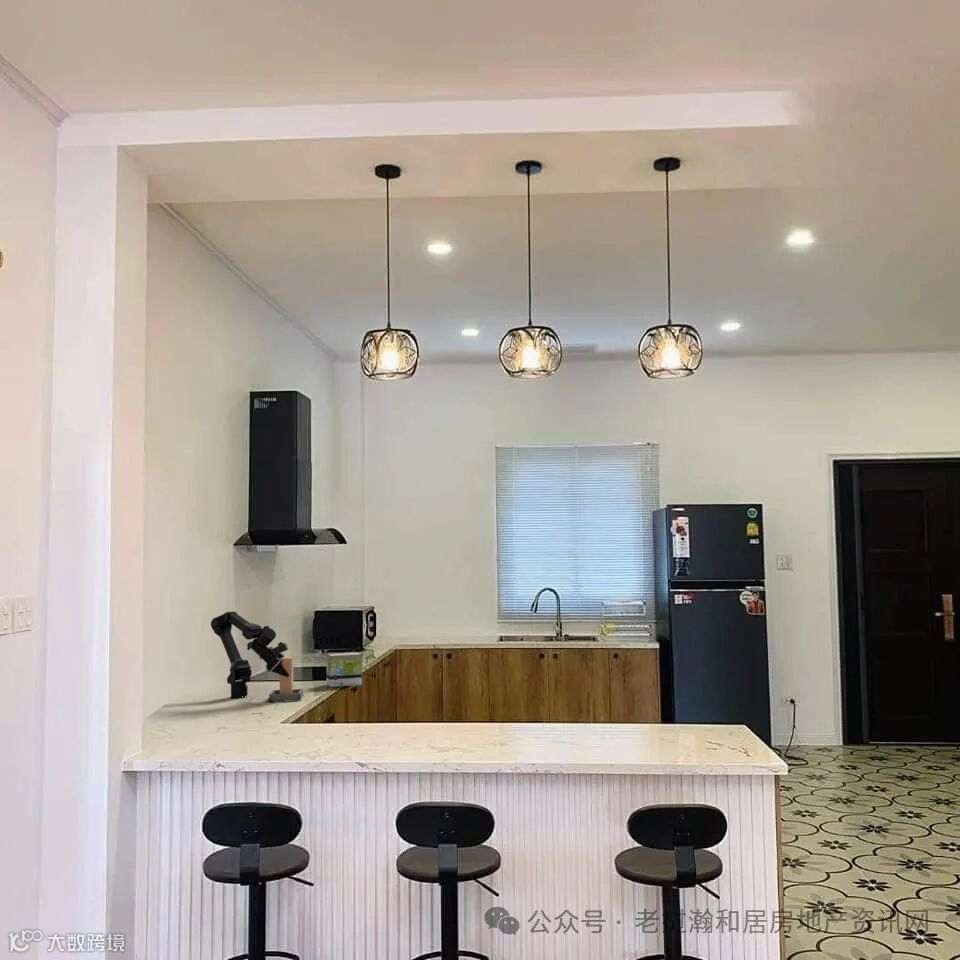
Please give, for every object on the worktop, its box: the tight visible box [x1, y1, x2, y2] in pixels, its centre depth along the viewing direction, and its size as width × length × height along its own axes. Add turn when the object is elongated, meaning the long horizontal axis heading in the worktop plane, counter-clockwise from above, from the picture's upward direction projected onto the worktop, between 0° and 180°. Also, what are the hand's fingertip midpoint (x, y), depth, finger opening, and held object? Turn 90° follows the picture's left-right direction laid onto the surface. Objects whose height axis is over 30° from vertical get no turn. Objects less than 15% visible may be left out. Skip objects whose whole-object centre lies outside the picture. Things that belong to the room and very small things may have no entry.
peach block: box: [279, 656, 294, 694], centre depth 381 cm, size 5×6×15 cm
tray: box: [268, 688, 304, 702], centre depth 380 cm, size 13×13×3 cm
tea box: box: [325, 651, 363, 688], centre depth 416 cm, size 15×10×15 cm
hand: (289, 675), depth 381 cm, fingers closed on peach block, 6 cm apart
